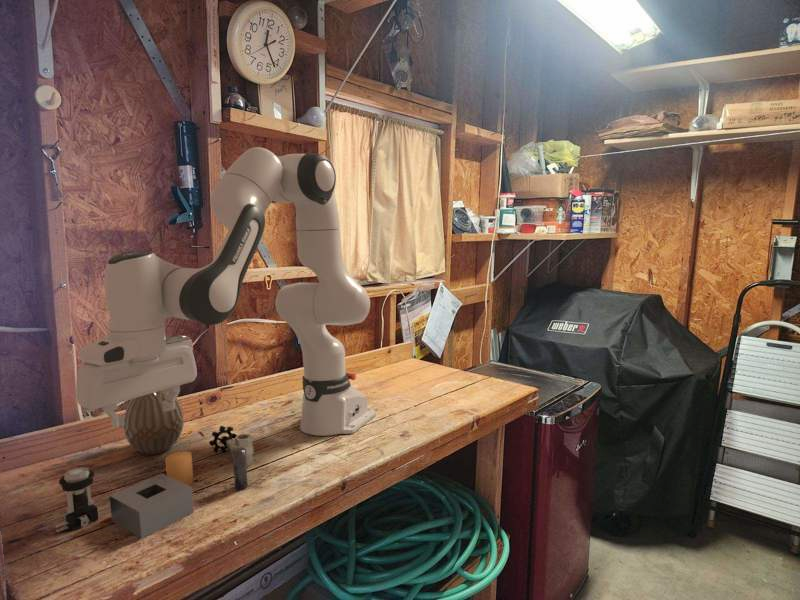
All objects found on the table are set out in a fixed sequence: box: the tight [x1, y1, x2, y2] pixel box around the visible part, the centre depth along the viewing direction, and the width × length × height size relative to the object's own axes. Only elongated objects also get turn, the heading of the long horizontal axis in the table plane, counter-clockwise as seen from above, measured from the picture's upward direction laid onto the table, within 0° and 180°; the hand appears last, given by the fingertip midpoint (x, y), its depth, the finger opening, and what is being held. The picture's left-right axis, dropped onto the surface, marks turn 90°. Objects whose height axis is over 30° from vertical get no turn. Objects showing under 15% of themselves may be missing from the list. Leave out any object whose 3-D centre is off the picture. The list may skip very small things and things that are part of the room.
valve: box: [208, 425, 255, 468], centre depth 115 cm, size 7×7×12 cm
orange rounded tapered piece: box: [164, 451, 194, 486], centre depth 104 cm, size 5×5×6 cm
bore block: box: [109, 472, 194, 540], centre depth 92 cm, size 10×10×5 cm
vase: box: [123, 389, 185, 455], centre depth 121 cm, size 13×13×18 cm
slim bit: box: [231, 448, 249, 491], centre depth 102 cm, size 3×3×8 cm
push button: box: [55, 466, 99, 533], centre depth 89 cm, size 7×5×10 cm
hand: (145, 418), depth 90 cm, fingers open, 8 cm apart
